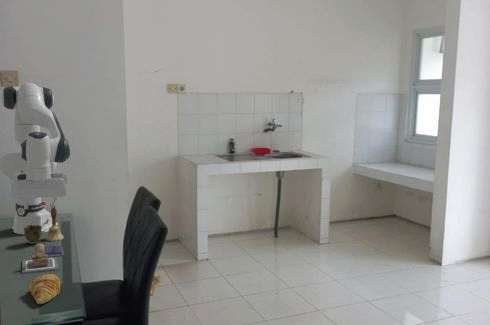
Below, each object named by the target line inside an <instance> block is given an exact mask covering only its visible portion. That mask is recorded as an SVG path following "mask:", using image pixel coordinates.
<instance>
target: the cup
mask: <svg viewBox="0 0 490 325" xmlns="http://www.w3.org/2000/svg"><path fill="white" fill-rule="evenodd" d="M41 230H42V227H41V226H40V225H39V226H38V225H36V226H35V225H34V226H32V225H30V226H27V228H25V227H24V232H25V234H24V237H25V240H26V241H28V244H29V245H32V246H33V244H34V245H37V244H38V241H39V240H40V239H41V236H42V233H41Z"/></svg>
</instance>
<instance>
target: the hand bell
mask: <svg viewBox="0 0 490 325" xmlns="http://www.w3.org/2000/svg"><path fill="white" fill-rule="evenodd" d="M50 213H51V217H52V226H51V227H50V228H49V231H48V232H47V235H46V236H45V238H44V240H45V241H48V242H57V241H62V240H63V239H65V236H64V235H63V234H62V233H61V230H60V227H59V226H58V225H57V226H56V222H57V221H56V219H57V208H56V205H54V208H50Z"/></svg>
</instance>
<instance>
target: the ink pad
mask: <svg viewBox="0 0 490 325" xmlns="http://www.w3.org/2000/svg"><path fill="white" fill-rule="evenodd" d="M45 254H47V257H48V258H53V257H60V256H65V253H64V248H63V246H62V245H57V246H55V245H53V246H44V255H45Z"/></svg>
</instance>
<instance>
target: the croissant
mask: <svg viewBox="0 0 490 325" xmlns="http://www.w3.org/2000/svg"><path fill="white" fill-rule="evenodd" d="M28 287H29V291H30V294H31V296H32V297H33V299H34V300H35V302H36V303H37V304H38V305H42V304H45V303H47V302H50V301H51V300H53V299H54V298H55V297H57V296H58V295H59V294H60V293H61V279H60V278H59V276H58V275H56V274H54V273H51V272H49V273H45V274H41V275H39V276H37V277H35V278H34V279H33V280H32V281H31V282H30V284H29V286H28Z"/></svg>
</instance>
